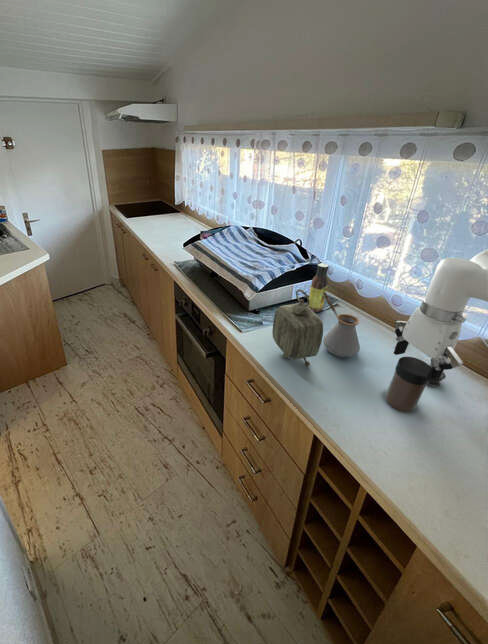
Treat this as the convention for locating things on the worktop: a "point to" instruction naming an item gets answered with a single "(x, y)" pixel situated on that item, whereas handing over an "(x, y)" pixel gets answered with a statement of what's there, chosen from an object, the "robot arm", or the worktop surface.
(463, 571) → the worktop surface
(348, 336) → the coffee pot
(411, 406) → the jar
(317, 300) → the sauce bottle
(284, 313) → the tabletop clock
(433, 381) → the grey stepped cylinder
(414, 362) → the jar lid
